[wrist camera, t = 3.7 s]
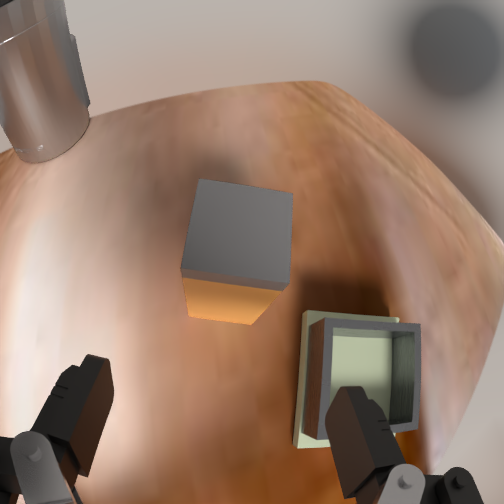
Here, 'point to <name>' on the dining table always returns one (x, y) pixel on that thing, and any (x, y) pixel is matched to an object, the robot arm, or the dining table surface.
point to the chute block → (236, 251)
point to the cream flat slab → (347, 368)
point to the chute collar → (402, 377)
